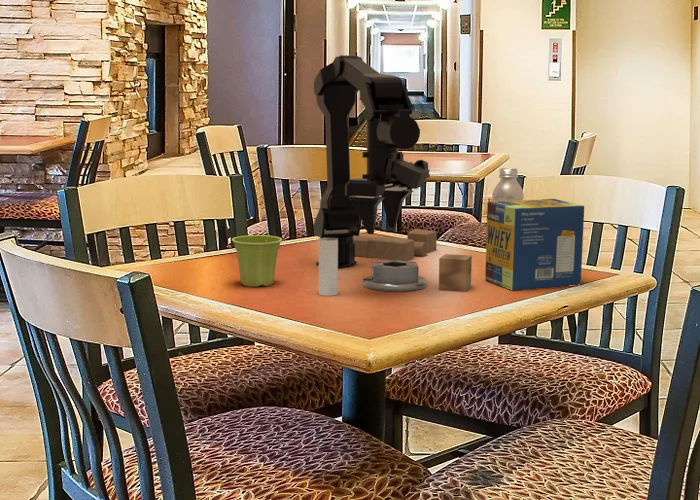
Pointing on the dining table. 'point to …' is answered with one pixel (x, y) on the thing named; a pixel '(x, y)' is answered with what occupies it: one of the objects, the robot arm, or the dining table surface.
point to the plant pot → (257, 258)
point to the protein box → (534, 243)
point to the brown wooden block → (455, 272)
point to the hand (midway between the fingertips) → (381, 230)
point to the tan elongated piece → (328, 266)
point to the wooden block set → (396, 246)
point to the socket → (395, 276)
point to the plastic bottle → (508, 186)
